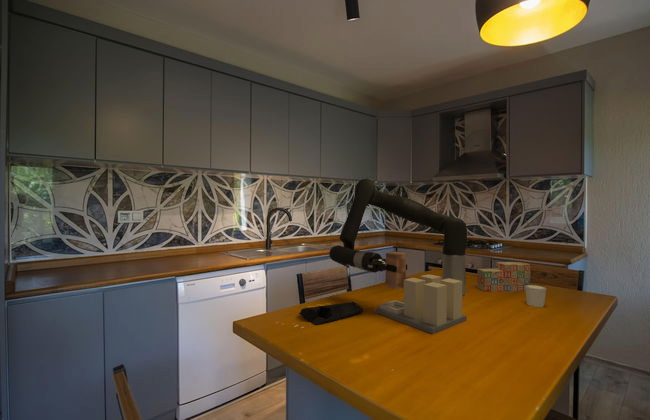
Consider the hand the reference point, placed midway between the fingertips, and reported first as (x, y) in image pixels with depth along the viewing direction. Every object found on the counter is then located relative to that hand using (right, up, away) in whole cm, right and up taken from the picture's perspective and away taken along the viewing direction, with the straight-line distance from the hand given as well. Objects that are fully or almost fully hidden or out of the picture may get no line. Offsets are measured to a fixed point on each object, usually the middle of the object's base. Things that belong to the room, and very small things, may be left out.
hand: (401, 268), depth 113 cm
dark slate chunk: (-24, -17, +2) cm, 30 cm away
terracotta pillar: (-2, -7, +2) cm, 7 cm away
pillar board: (+6, -17, -1) cm, 18 cm away
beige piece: (+55, -17, +12) cm, 59 cm away
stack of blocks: (+55, -16, +34) cm, 67 cm away
